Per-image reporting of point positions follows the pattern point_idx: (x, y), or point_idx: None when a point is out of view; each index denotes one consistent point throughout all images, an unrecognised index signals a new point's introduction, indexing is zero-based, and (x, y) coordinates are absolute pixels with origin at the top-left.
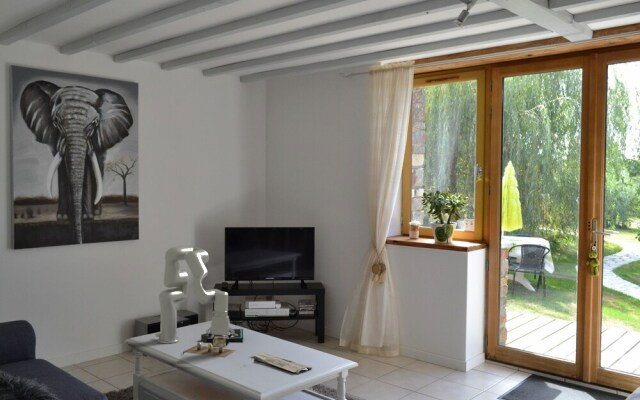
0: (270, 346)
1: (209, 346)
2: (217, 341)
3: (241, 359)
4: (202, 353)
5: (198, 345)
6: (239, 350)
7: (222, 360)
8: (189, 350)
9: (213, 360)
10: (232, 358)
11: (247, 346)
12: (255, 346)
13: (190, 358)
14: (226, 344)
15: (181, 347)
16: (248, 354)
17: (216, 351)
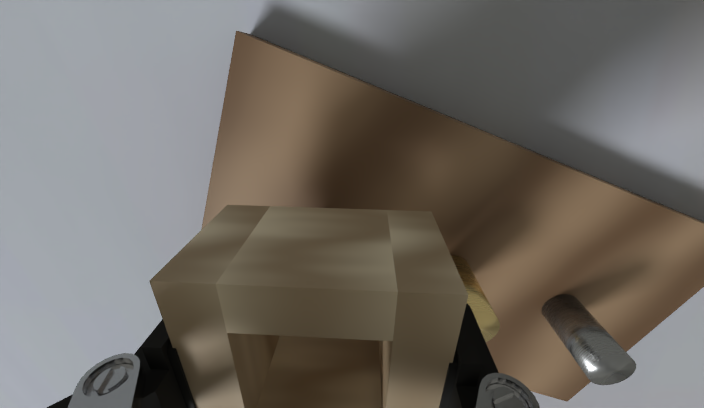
0: (19, 399)
1: (472, 296)
2: (349, 269)
3: (52, 70)
4: (535, 193)
5: (603, 335)
6: None
7: (266, 16)
8: (664, 286)
9: (383, 12)
10: (172, 108)
11: None
12: None
13: (675, 94)
14: None
15: (670, 387)
16: (72, 240)
17: None
